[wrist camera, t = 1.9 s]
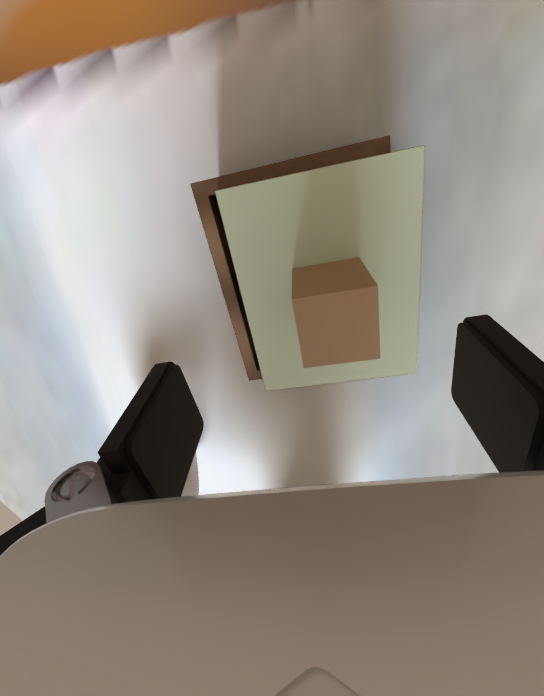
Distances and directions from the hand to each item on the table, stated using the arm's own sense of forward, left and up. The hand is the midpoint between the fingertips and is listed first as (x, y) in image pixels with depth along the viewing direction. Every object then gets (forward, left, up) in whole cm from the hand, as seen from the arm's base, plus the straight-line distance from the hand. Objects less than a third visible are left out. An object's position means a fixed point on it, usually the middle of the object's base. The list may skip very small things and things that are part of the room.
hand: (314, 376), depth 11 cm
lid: (-1, -1, -11) cm, 11 cm away
